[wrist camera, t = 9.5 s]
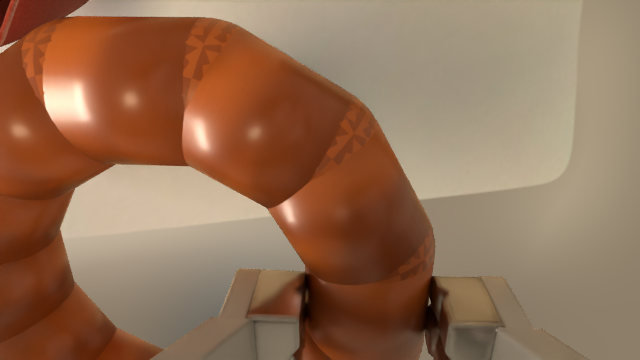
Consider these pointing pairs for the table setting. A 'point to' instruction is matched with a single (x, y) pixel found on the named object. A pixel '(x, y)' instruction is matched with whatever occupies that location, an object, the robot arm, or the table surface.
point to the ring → (212, 160)
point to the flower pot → (31, 16)
